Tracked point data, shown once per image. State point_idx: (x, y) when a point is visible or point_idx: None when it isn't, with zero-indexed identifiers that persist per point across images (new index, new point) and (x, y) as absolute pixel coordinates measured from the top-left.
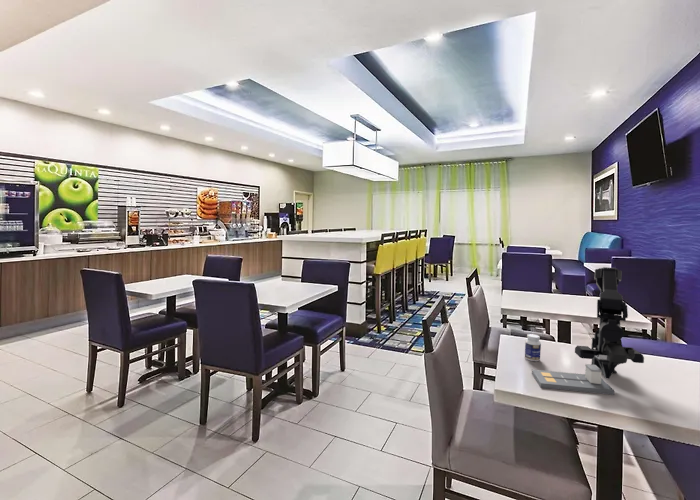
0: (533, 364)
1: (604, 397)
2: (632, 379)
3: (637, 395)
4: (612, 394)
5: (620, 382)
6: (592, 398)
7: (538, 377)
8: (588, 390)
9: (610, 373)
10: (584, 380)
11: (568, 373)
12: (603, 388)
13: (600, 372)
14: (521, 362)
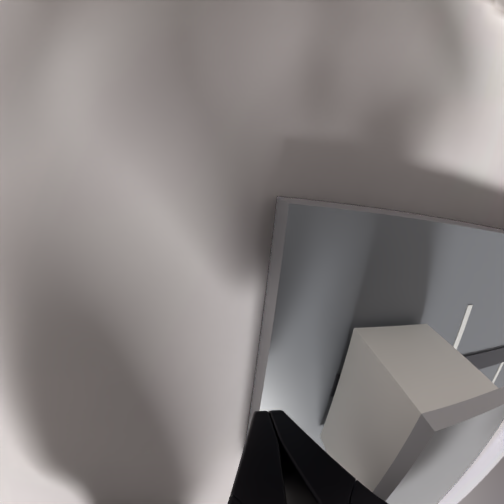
0: None
1: (394, 129)
2: (34, 460)
3: (52, 228)
4: (291, 198)
5: (103, 438)
6: (474, 115)
7: None
8: (465, 223)
9: (260, 457)
10: None
11: None
12: (379, 236)
13: (429, 411)
14: (470, 471)
